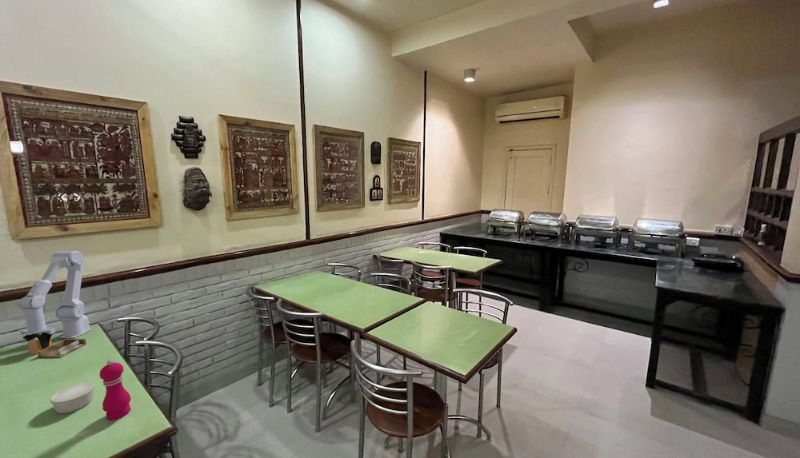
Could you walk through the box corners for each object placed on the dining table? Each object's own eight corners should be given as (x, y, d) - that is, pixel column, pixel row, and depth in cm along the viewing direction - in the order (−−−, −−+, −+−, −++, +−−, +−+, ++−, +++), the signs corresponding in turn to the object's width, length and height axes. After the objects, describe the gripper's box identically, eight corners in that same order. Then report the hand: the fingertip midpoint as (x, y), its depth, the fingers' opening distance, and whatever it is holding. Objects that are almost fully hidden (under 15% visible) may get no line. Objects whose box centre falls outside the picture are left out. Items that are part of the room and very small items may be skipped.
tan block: (44, 347, 155) (41, 335, 154) (52, 347, 155) (50, 335, 154) (30, 354, 149) (27, 341, 148) (38, 353, 149) (36, 341, 148)
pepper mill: (99, 419, 107) (89, 364, 104) (123, 404, 114) (114, 352, 111) (114, 423, 105) (104, 367, 102) (137, 408, 112) (129, 355, 109)
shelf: (66, 344, 157) (65, 339, 157) (86, 344, 157) (85, 338, 157) (38, 357, 145) (37, 352, 145) (60, 357, 145) (59, 351, 145)
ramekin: (64, 398, 118) (62, 385, 117) (103, 391, 122) (100, 378, 121) (44, 419, 107) (41, 405, 107) (86, 411, 111) (84, 397, 110)
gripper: (9, 324, 145) (15, 352, 148) (41, 324, 145) (47, 352, 147) (27, 318, 152) (33, 344, 155) (57, 317, 152) (62, 344, 154)
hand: (41, 347), depth 151 cm, fingers closed on tan block, 4 cm apart
